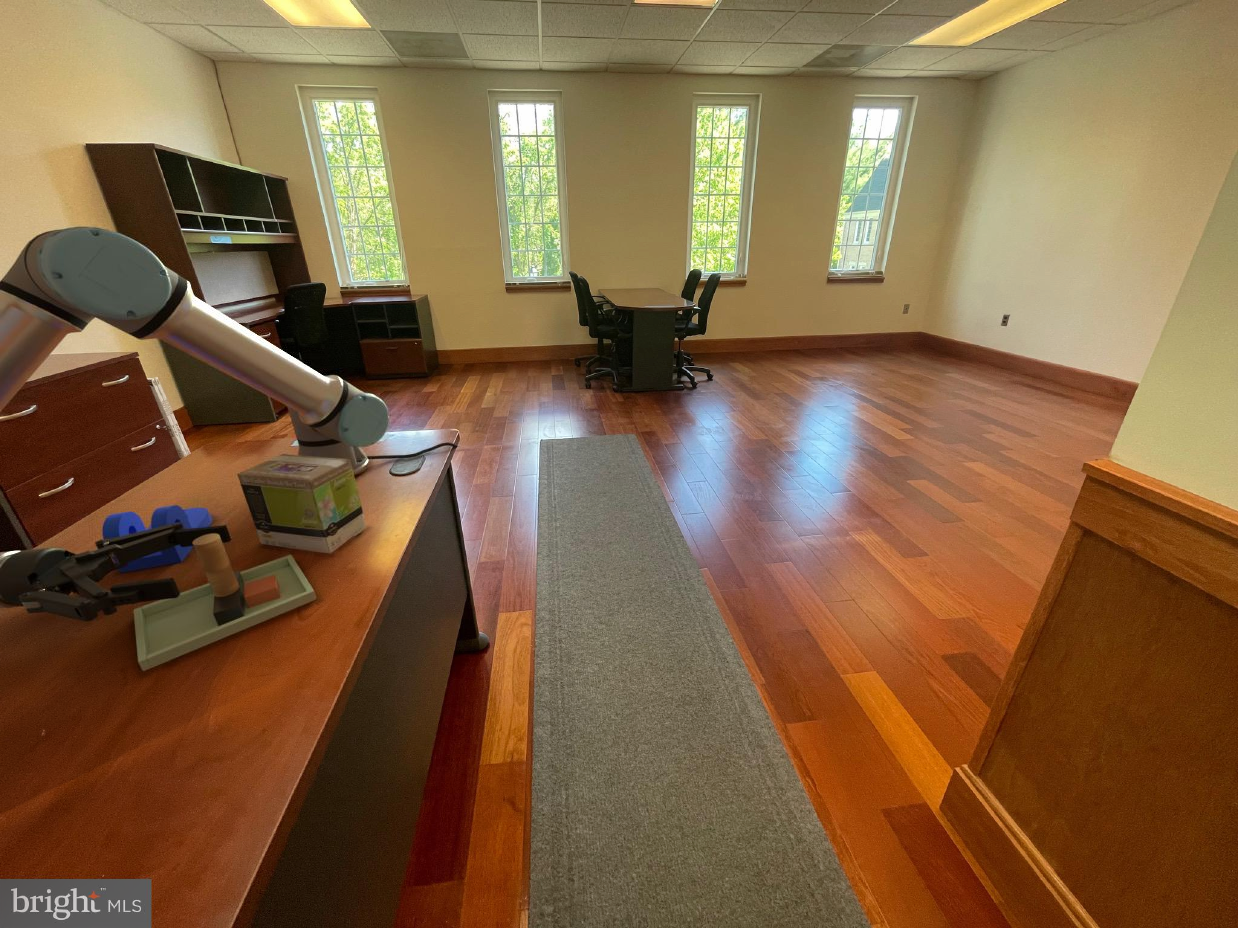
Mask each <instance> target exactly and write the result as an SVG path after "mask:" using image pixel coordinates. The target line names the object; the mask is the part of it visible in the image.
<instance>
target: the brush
mask: <svg viewBox="0 0 1238 928" xmlns="http://www.w3.org/2000/svg"><path fill="white" fill-rule="evenodd" d="M192 544H193V548H194V550H195V553H196V555H197V558H198V561H199V562H200V565H201V567H202V570H203V572H204V574H205V577H206V579H207V581H208V583H209V584H210V586H211V589H212V591H213V593H214V606H213V615H214V617H215V620H216V622H217V624H218V627H219V626H221V625H224V624H226V623H229V622H231V621H234V620H236V619H239V618H241V617H244V616H245V598H244V581H243V579H242V576H241V573H240V572H241V571H240V570H237V571H234V568H233V566H232V564H231V561H230V558H229V556H228V553H227V550H226V548H225V546H224V543H222V540H221V538H220V535H219V534H207V535H204V536H201V537H199V538H197V539H195V540H194V541H193V543H192Z"/></svg>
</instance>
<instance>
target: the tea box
mask: <svg viewBox="0 0 1238 928" xmlns="http://www.w3.org/2000/svg"><path fill="white" fill-rule="evenodd" d="M236 476H237V478H238V481H239V484H240V487H241V490H242V493H243V496H244V498H245V502H246V505H247V507H248V510H249V513H250V516H251V518H252V521H253V524H254V527H255V529H256V533H257V536H258V539H259V542H260V544H261V545H268V546H275V547H281V548H288V549H296V550H302V551H308V552H314V553H315V552H316V553H323V554H332V553H333V552H335V551H336V550H337V549H338V548H339V547H341V546H342V545H343V544H345V543H346V542H347V541H348V540H351V539H352V538H353V537H356V536H358V535H359V534H360V533H362V532H363V531H364V530H365V529H366V528H367V524H366V520H365V519H366V518H365V516H364V511H363V506H362V503H361V499H360V494H359V491H358V486H357V483H356V478H355V477H354V473H353V469H352V466H351V462H350V460H349V459H338V458H326V457H313V456H302V455H298V454H289V453H282V454H280V455H278V456H275V457H273V458H270V459H268V460H266V461H264V462H262V463H259V464H256V465H254V466H252V467H250V468H247V469H244V470H243V471H240V472H238V473H236Z"/></svg>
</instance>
